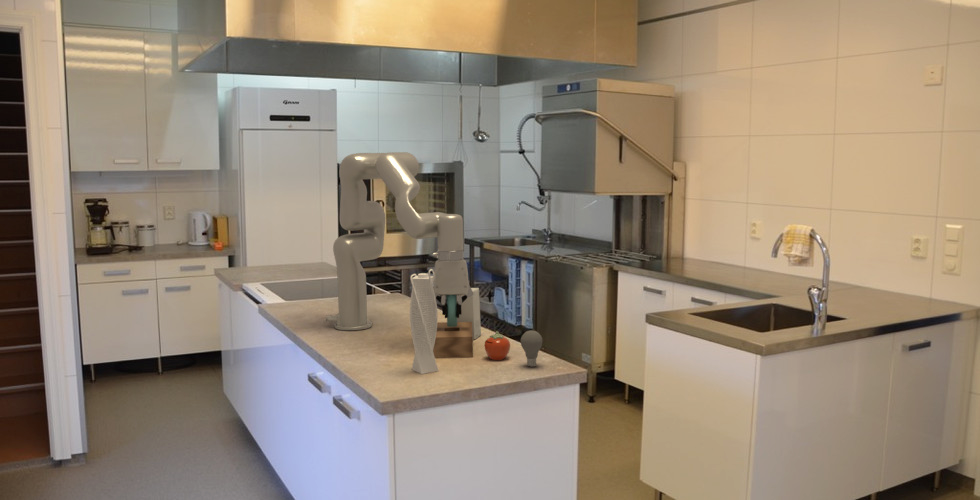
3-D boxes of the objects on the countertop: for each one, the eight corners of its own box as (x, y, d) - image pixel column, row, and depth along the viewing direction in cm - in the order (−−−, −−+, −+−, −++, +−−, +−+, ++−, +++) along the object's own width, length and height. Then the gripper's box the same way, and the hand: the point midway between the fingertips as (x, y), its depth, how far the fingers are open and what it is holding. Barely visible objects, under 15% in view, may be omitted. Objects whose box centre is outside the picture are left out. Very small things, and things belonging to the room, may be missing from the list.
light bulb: (519, 363, 220) (519, 328, 218) (540, 363, 220) (540, 327, 219) (522, 369, 214) (521, 333, 212) (544, 368, 214) (544, 332, 213)
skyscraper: (444, 371, 213) (442, 268, 209) (420, 376, 209) (418, 271, 205) (429, 365, 219) (427, 265, 216) (406, 369, 215) (403, 267, 211)
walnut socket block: (431, 358, 227) (430, 337, 226) (433, 341, 247) (433, 322, 246) (472, 357, 227) (472, 336, 226) (472, 340, 247) (471, 321, 246)
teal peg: (447, 326, 234) (446, 293, 233) (447, 324, 237) (446, 291, 236) (457, 326, 234) (456, 293, 233) (457, 324, 237) (456, 291, 236)
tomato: (479, 357, 227) (479, 330, 226) (502, 354, 230) (501, 327, 229) (492, 363, 220) (492, 335, 219) (515, 359, 224) (515, 332, 223)
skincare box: (481, 335, 254) (480, 287, 252) (474, 340, 247) (473, 291, 246) (457, 334, 256) (456, 286, 254) (449, 338, 250) (448, 290, 248)
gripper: (422, 258, 229) (423, 320, 232) (478, 257, 230) (479, 319, 232) (423, 255, 237) (425, 315, 239) (478, 254, 237) (479, 314, 240)
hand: (452, 316), depth 236 cm, fingers closed on teal peg, 3 cm apart
